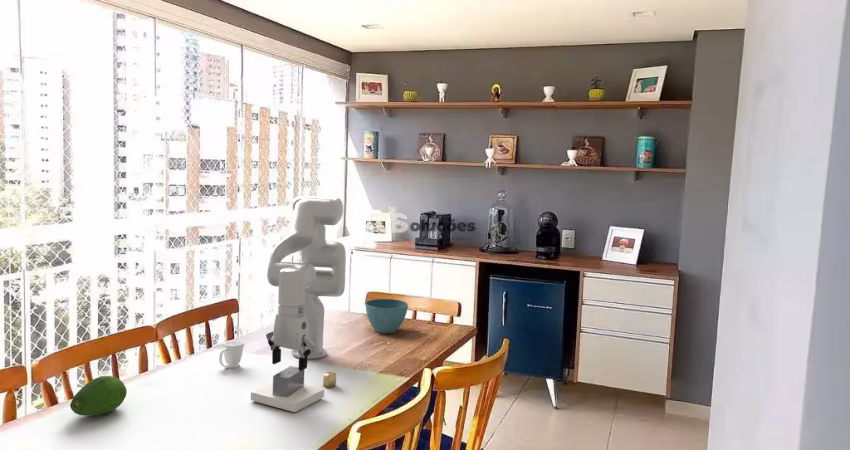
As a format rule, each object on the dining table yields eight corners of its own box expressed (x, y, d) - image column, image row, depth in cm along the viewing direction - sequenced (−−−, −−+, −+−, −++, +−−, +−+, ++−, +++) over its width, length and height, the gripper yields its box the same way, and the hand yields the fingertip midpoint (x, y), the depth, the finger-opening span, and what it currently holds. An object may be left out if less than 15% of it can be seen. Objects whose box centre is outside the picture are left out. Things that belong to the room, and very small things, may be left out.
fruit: (85, 428, 157) (86, 390, 156) (59, 420, 161) (59, 383, 160) (134, 409, 171) (135, 373, 170) (109, 401, 175) (109, 367, 174)
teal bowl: (405, 338, 258) (407, 309, 257) (362, 335, 258) (363, 306, 257) (407, 327, 276) (408, 300, 275) (366, 324, 276) (368, 297, 275)
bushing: (320, 386, 196) (321, 374, 196) (327, 383, 200) (328, 371, 199) (331, 389, 194) (331, 376, 194) (338, 385, 198) (338, 373, 198)
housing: (289, 383, 189) (290, 366, 188) (303, 386, 187) (304, 368, 187) (272, 394, 179) (273, 375, 178) (287, 397, 178) (288, 378, 177)
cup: (248, 364, 213) (248, 341, 213) (228, 372, 204) (228, 349, 203) (231, 361, 216) (232, 338, 215) (211, 369, 207) (212, 345, 206)
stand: (250, 402, 180) (250, 392, 180) (281, 388, 193) (282, 378, 193) (294, 414, 173) (295, 403, 173) (323, 398, 186) (324, 389, 186)
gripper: (323, 312, 181) (320, 368, 183) (276, 302, 188) (274, 357, 190) (307, 317, 174) (305, 376, 176) (259, 307, 181) (258, 363, 183)
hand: (289, 366), depth 183 cm, fingers open, 9 cm apart
